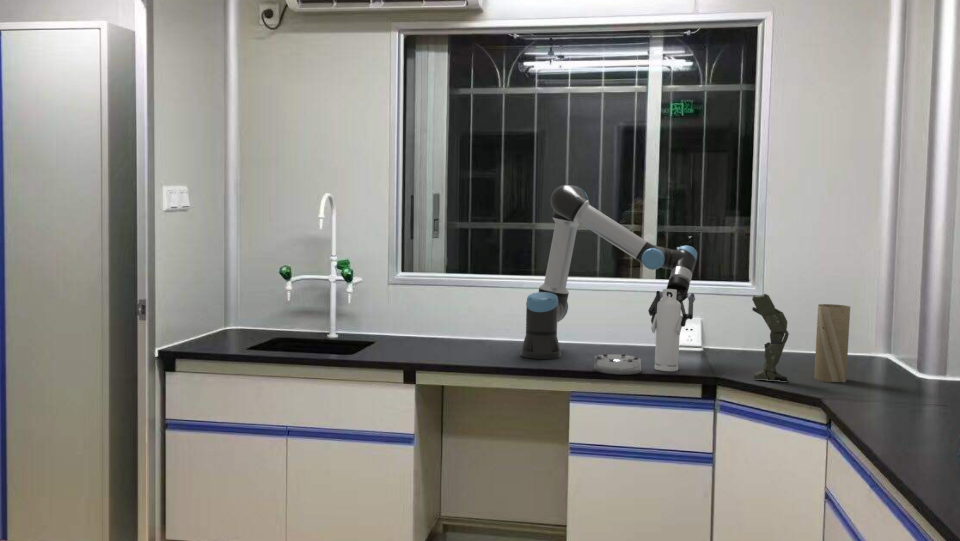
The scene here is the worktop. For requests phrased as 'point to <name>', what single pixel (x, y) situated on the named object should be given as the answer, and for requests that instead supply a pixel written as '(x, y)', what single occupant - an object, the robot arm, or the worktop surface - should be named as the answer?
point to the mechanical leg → (771, 337)
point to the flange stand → (617, 364)
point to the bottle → (667, 332)
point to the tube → (832, 342)
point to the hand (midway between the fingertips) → (665, 331)
